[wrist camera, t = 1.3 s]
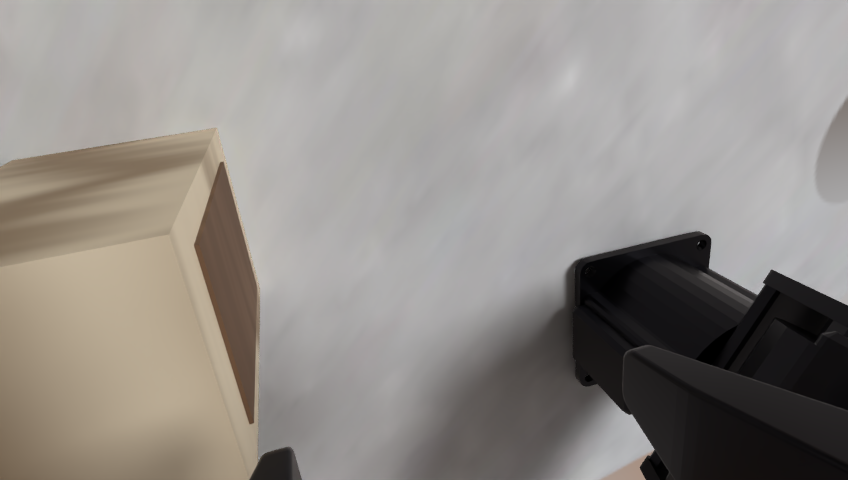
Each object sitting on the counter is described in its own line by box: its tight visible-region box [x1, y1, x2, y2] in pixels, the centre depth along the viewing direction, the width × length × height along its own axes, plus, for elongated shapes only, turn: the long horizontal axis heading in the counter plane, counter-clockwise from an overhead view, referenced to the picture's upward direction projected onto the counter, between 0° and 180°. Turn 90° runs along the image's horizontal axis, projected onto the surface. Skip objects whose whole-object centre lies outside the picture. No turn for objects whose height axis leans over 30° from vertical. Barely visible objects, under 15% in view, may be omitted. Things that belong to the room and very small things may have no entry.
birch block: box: [0, 128, 260, 480], centre depth 14 cm, size 6×6×10 cm
